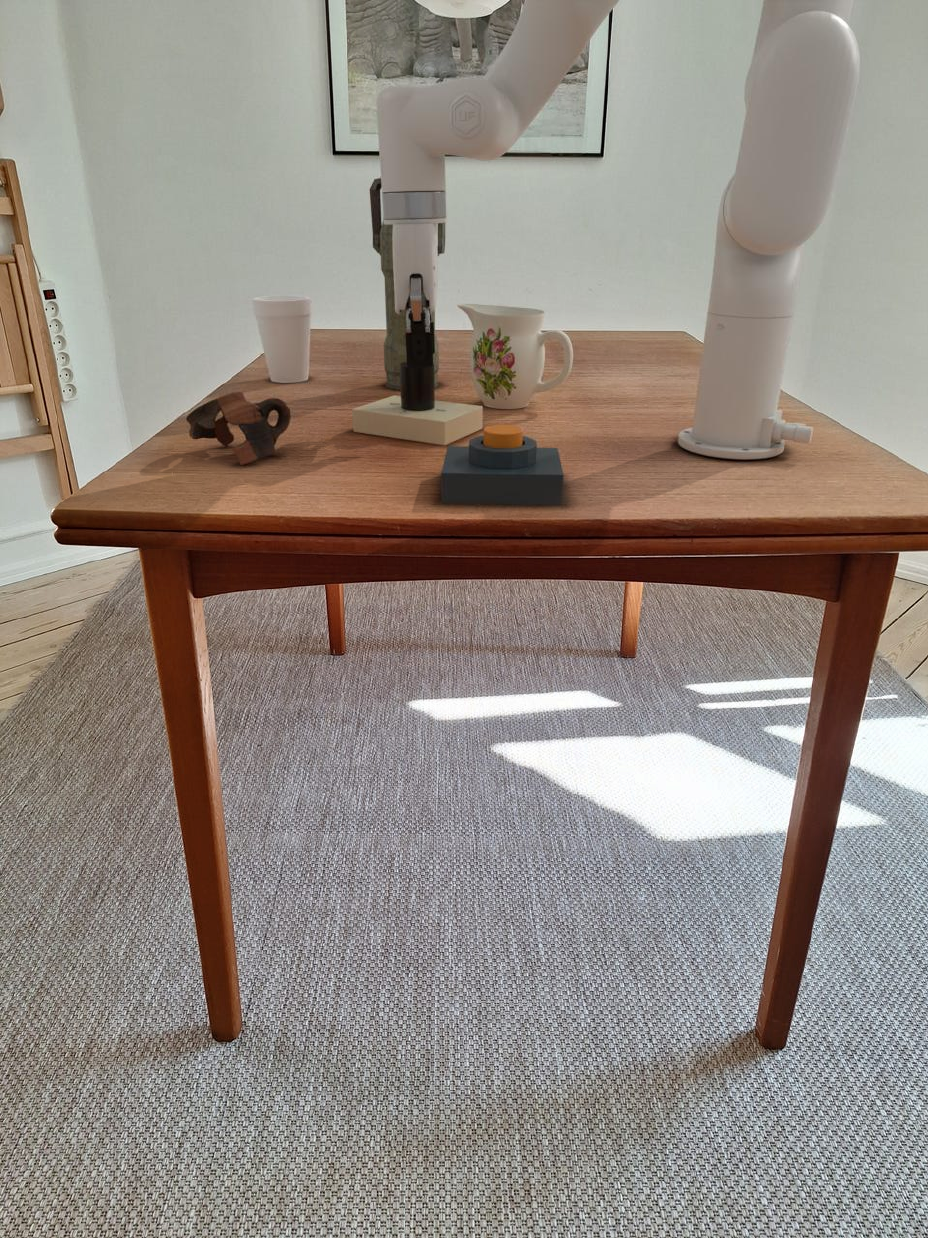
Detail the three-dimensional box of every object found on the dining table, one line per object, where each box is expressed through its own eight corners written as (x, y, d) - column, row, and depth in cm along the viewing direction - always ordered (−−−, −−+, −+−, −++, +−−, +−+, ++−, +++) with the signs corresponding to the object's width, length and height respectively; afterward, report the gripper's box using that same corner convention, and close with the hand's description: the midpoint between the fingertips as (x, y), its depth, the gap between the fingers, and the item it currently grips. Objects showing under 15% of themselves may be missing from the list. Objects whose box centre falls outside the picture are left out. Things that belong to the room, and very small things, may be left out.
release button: (521, 441, 85) (522, 424, 84) (522, 451, 81) (523, 434, 81) (483, 440, 85) (483, 424, 84) (482, 451, 82) (483, 433, 81)
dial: (402, 403, 108) (400, 358, 106) (435, 403, 108) (434, 358, 106) (399, 410, 104) (398, 364, 102) (434, 410, 104) (433, 364, 102)
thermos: (387, 378, 140) (378, 143, 124) (453, 382, 137) (452, 142, 121) (368, 388, 132) (356, 139, 116) (438, 392, 129) (435, 138, 113)
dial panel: (482, 428, 109) (482, 404, 107) (444, 445, 101) (444, 420, 99) (395, 416, 115) (394, 393, 113) (353, 431, 107) (351, 407, 105)
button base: (556, 476, 90) (558, 431, 87) (561, 505, 81) (564, 456, 78) (447, 474, 90) (447, 429, 88) (441, 503, 81) (441, 454, 79)
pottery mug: (220, 476, 91) (183, 408, 89) (209, 490, 99) (175, 428, 98) (313, 433, 95) (279, 368, 94) (295, 451, 104) (263, 391, 102)
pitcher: (556, 418, 114) (562, 314, 107) (441, 406, 120) (441, 307, 114) (580, 403, 123) (587, 306, 116) (472, 392, 129) (473, 300, 123)
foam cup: (311, 384, 135) (304, 301, 129) (255, 384, 135) (246, 300, 129) (321, 374, 143) (315, 295, 137) (268, 373, 143) (260, 295, 137)
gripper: (388, 211, 104) (396, 350, 111) (376, 211, 88) (387, 373, 96) (446, 209, 104) (451, 349, 111) (445, 209, 88) (450, 371, 96)
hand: (421, 360), depth 104 cm, fingers open, 9 cm apart
